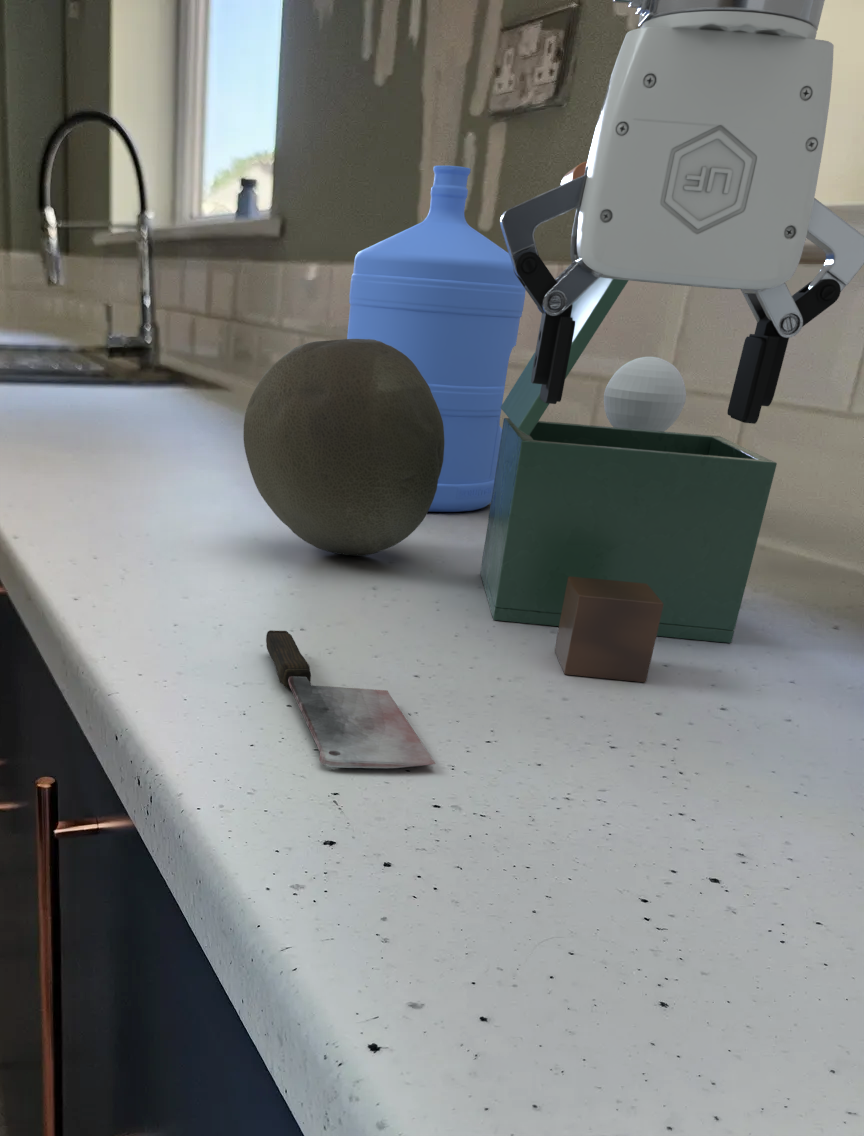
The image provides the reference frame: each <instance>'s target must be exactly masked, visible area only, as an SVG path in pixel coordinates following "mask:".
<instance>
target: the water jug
mask: <svg viewBox="0 0 864 1136" xmlns="http://www.w3.org/2000/svg"><path fill="white" fill-rule="evenodd" d="M471 170H472V169H471V168H470V167H467V166H466V167H465V166H459V165H434V166H433V169H432V171H433V173H434V177H433V185H432V187H431V188H430V205H429V211H428V213H427V216H426V217H425V218H424V219H423V220H422V221H421V222H419V223H417V224H415V225H413V226H410V227H409V228H406V229H404V230H402V231H400V232H398V233H396V234H394V235H392V236H389V237H387V238H385V239H383V240H381V241H378V242H377V243H375V244H373V245H369V247H366V248H364V249H362V250H360V251H358V252H357V254H355V257H354V260H353V261H354V262H353V273H352V274H351V279H350V286H349V295H348V296H349V300H348V302H349V312H348V313H349V315H348V324H347V335H346V339H372V340H377V341H381V342H383V343H385V344H386V345H389V346H392V347H393V348H395V349H397V350H398V351H400V352H402V353H403V354H404V355H406V356H407V357H408V358H409V359H410V360H411V361H412V362H413V363H414V365H415V366H416V367H417V369H418V370H419V372H420V373H421V375H422V377H423V378H424V379H425V381H426V382H427V384H428V386H429V388H430V390H431V393H432V395H433V397H434V400H435V401H436V404H437V406H438V409H439V412H440V414H441V417H442V421H443V426H444V458H443V464H442V469H441V473H440V476H439V479H438V484H437V490H436V493H435V496H434V499H433V501H432V504H431V506H430V508H429V510H428V512H429V513H461V512H462V513H463V512H472V511H477V510H480V509H483V508H485V507H487V506H488V505H491V499H492V493H493V486H494V480H495V473H496V467H497V460H498V454H499V447H500V441H501V434H502V428H503V427H501V426H500V425H501V423H500V422H501V414H502V409H501V406H502V404H503V403H504V396H505V395H504V394H505V387H506V381H507V374H508V369H509V361H510V357H511V353H512V350H513V348H515V346H517V341H518V334H519V329H520V328H519V327H520V320H521V317H522V316H523V311H524V307H525V300H526V292H527V291H526V289H525V288H524V287H523V285H522V284H521V282H520V281H519V279H518V278H517V276H516V275H515V273H514V270H513V265H512V262H511V258H510V256H509V252H508V251H506V250H505V249H503V248H502V247H501V246H499V245H498V244H496V243H495V242H493V241H492V240H490V239H489V238H488V237H487V236H485V235H483V234H482V233H480V232H479V231H478V230H476V229H475V228H473V227H472V226H470V225H469V223H468V222H467V220H466V216H465V209H466V202H467V199H468V194H469V190H468V188H467V187H468V186H467V185H468V179H469V178H468V177H469V176H470V174H471Z"/></svg>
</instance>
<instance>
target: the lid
mask: <svg viewBox="0 0 864 1136" xmlns="http://www.w3.org/2000/svg"><path fill="white" fill-rule="evenodd" d="M587 161H588V160H587ZM587 161H583V162H581V163H579V164H578V165H576V166H575V167H573V168H572V169H570V170H568V172H566V173H565V174H564V176H563V177H562V179H561V182H560V186H561V185H563V184H565V183H567V182H569V181H572V180H574V179H576V178H578V177H581V176H583V175H584V174H585V169H586V165H587ZM628 283H629V280H619V279H610V278H602V277H599V278H598V279H597V280H596V281H595V282H594V283H593V284H592V285H591V286H590V287H589V288H588V289H587V290H586V291H585V292H584V293H583V294H582V295H581V296H580V297H579V298H578V299H577V300H576V301H575V302H573V303H572V305H573V306H572V311H571V316H570V317H571V318H572V320H573V321H575V328H574V334H573V339H572V345H571V350H570V355H569V361H568V366H567V372H566V377H565V380H566V379H567V377H568V376H569V374H570V373H571V371H572V369H574V366H575V365H576V363H577V362H578V360H579V359H580V357H581V356H582V354H583V352H584V351H585V349H586V348H587V346H588V345H589V344H590V341H591V340H592V339H593V337H594V336H595V334H596V332H597V330H598V329H599V328H600V326H601V324H602V323H603V321H604V320H605V318H607V317H606V316H607V315H608V314H609V311H610V310H611V309H612V307H613V306H614V304H615V303H616V301H617V300H618V299H619V296H620V295H621V293H622V292H623V290H624V289H625V287H626V285H627V284H628ZM534 357H535V352H534V353H533V355H532V356H531V358H530V359H529V360H528V362H527V364H526V365H525V366H524V368H523V371H522V372H521V374H520V375H519V377H518V379H517V380H516V381H515V383H514V385H513V386H512V388H511V390H510V391H509V393H508V394H507V396H506V398H505V400H503V402H502V406H501V411H502V412H503V413H504V414H505V415H506V417H507V418H509V419H510V420H511V421H512V422H513V424H514V425H515V426H516V427H517V428H518V430H520V431H522V432H523V433H525V434H526V435H530V433H531V432H532V430H533V429H534V427H535V426H536V424H537V422H538V421H540V419H541V418H542V417H543V415H544V413H545V412H546V410H547V409H548V407H549V405H550V404H549V403H545V402H543V401H542V400H541V399H540V391H541V385H542V384H534V383H531V376H532V369H533V363H534Z"/></svg>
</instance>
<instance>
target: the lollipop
mask: <svg viewBox="0 0 864 1136" xmlns="http://www.w3.org/2000/svg"><path fill="white" fill-rule="evenodd" d="M685 384H686V383H685V381H684V378H683V376H682V374H681V372H680V371H679V369H677V367H676V366H675V365H674V364H672V363H671V362H669V361H668V360H666V359H664V358H661V357H657V356H642V357H637V358H633V360H629V361H628V362H626V363H625V364H623V365H621V366H620V367H619V368H618V369H617V370H616V371H615V372H614V373H613V375H612V377H611V378H610V379H609V381H608V383H607V385H606V386H605V389H604V393H603V406H604V407H603V408H604V413H605V416H606V419H607V420H608V422H609V424H610V425H611V427H617V428H628V429H640V430H652V431H664V432H667V430H669V428H671V427H672V426H673V425H674V423H675V422H676V421H677V420H678V419H679V417H680V415H681V413H682V411H683V410H684V406H685V404H686V400H687V389H686V385H685Z"/></svg>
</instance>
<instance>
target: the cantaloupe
mask: <svg viewBox="0 0 864 1136" xmlns="http://www.w3.org/2000/svg"><path fill="white" fill-rule="evenodd" d="M243 420H244V421H243V448H244V453H245V455H246V460H247V464H248V467H249V471H250V474H251V477H252V479H253V482H254V485H255V487H256V489H257V491H258V493H259V495H261V498H262V499H263V500H264V502H265V503H266V505H267V506H268V507H269V509H270V510H271V511H272V512H273V514H274V515H275V516H276V517H277V518H278V519H279V520H280V521H281V522H282V523H283V524H284V525H285V526H286V527H287V528H288V529H290V531H291V532H292V533H293V534H294V535H296V537H298V538H300V540H302V541H304V542H306V543H307V544H309V545H311V546H312V547H315V548H317V549H318V550H322V551H326V552H329V553H333V554H338V555H343V556H354V557H355V556H356V557H357V556H358V557H363V556H369V555H372V554H376V553H379V552H381V551H385V550H387V549H390V548H392V547H394V546H396V545H398V544H399V543H401V542H403V541H404V540H406V539H407V538H408V537H410V536H411V535H412V533H414V532H415V531H416V529H418V527H419V526H420V525H421V524H422V522H423V521H424V520H425V518H426V516H427V514H428V510H429V508H430V506H431V504H432V501H433V499H434V496H435V493H436V490H437V484H438V479H439V476H440V473H441V469H442V464H443V458H444V426H443V421H442V417H441V414H440V412H439V409H438V406H437V404H436V401H435V400H434V397H433V395H432V393H431V390H430V388H429V386H428V384H427V382H426V381H425V379H424V378H423V377H422V375H421V373H420V372H419V370H418V369H417V367H416V366H415V365H414V363H413V362H412V361H411V360H410V359H409V358H408V357H407V356H406V355H404V354H403V353H402V352H400V351H398V350H397V349H395V348H393V347H392V346H389V345H386V344H385V343H383V342H381V341H377V340H372V339H347V338H342V339H330V340H316V341H309V342H307V343H303V344H300V345H298V346H296V347H293V348H292V349H291V350H289V351H288V352H287V353H286V354H284V355H283V356H281V357H280V358H279V359H278V360H277V361H276V362H275V363H274V364H273V365H272V366H271V367H270V368H269V369H268V370H267V371H266V372H265V373H264V375H263V376H262V377H261V378H260V380H259V381H258V382H257V385H256V386H255V388H254V390H253V391H252V394H251V396H250V399H249V402H248V404H247V407H246V410H245V414H244V419H243Z"/></svg>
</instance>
